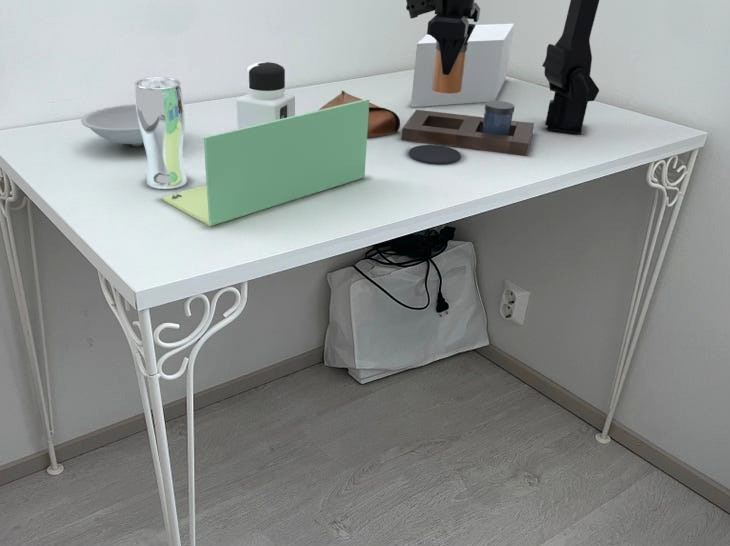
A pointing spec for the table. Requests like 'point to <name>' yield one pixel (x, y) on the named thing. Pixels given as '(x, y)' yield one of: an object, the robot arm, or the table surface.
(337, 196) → the table surface
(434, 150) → the coaster
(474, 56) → the block
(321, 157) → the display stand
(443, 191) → the table surface
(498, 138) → the jar stand
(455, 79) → the amber jar
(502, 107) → the spice jar
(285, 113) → the container
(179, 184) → the beer glass
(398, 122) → the sunglasses case
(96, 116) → the dish
